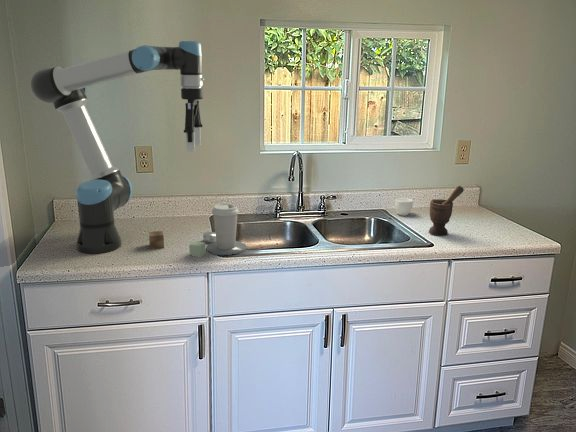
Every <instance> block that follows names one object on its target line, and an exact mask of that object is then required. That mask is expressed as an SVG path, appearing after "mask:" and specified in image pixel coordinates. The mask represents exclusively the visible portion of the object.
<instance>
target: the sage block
mask: <svg viewBox="0 0 576 432" xmlns="http://www.w3.org/2000/svg"><path fill="white" fill-rule="evenodd" d="M188 248H189V256H191V255H192V257H198V258H200V257H203V256H205V254H206V252H207V247H206V243H204V242H203V241H196V240H195V241H193V242H191V243H190V244H189V247H188Z"/></svg>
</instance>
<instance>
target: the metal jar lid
mask: <svg viewBox="0 0 576 432" xmlns="http://www.w3.org/2000/svg"><path fill="white" fill-rule="evenodd" d="M202 237H203V238H202V240H203V241H202V242H204V243H205V244H207V245H209V244H210V243H213V242H216V233H215V231H206V232H203V233H202Z"/></svg>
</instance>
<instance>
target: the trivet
mask: <svg viewBox="0 0 576 432" xmlns="http://www.w3.org/2000/svg"><path fill="white" fill-rule="evenodd" d="M246 250H247V246H246V244H245V243H244V242H242V241H238V240H236V242H235V247H234V248H232V249H226V250H225V249H219V248H217V242H213V243H210V244H207V246H206V252H208V253H209V254H212V255H214V256H224V255H228V256H233V255H232V254H236V255H239V254H242V253H244V252H245V251H246Z"/></svg>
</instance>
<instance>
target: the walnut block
mask: <svg viewBox="0 0 576 432" xmlns="http://www.w3.org/2000/svg"><path fill="white" fill-rule="evenodd" d="M148 237H149V238H148V239H149V240H148V241H149V249H150V250H155V249H157V250H158V249H165V238H164V230H155V231H148Z"/></svg>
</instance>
